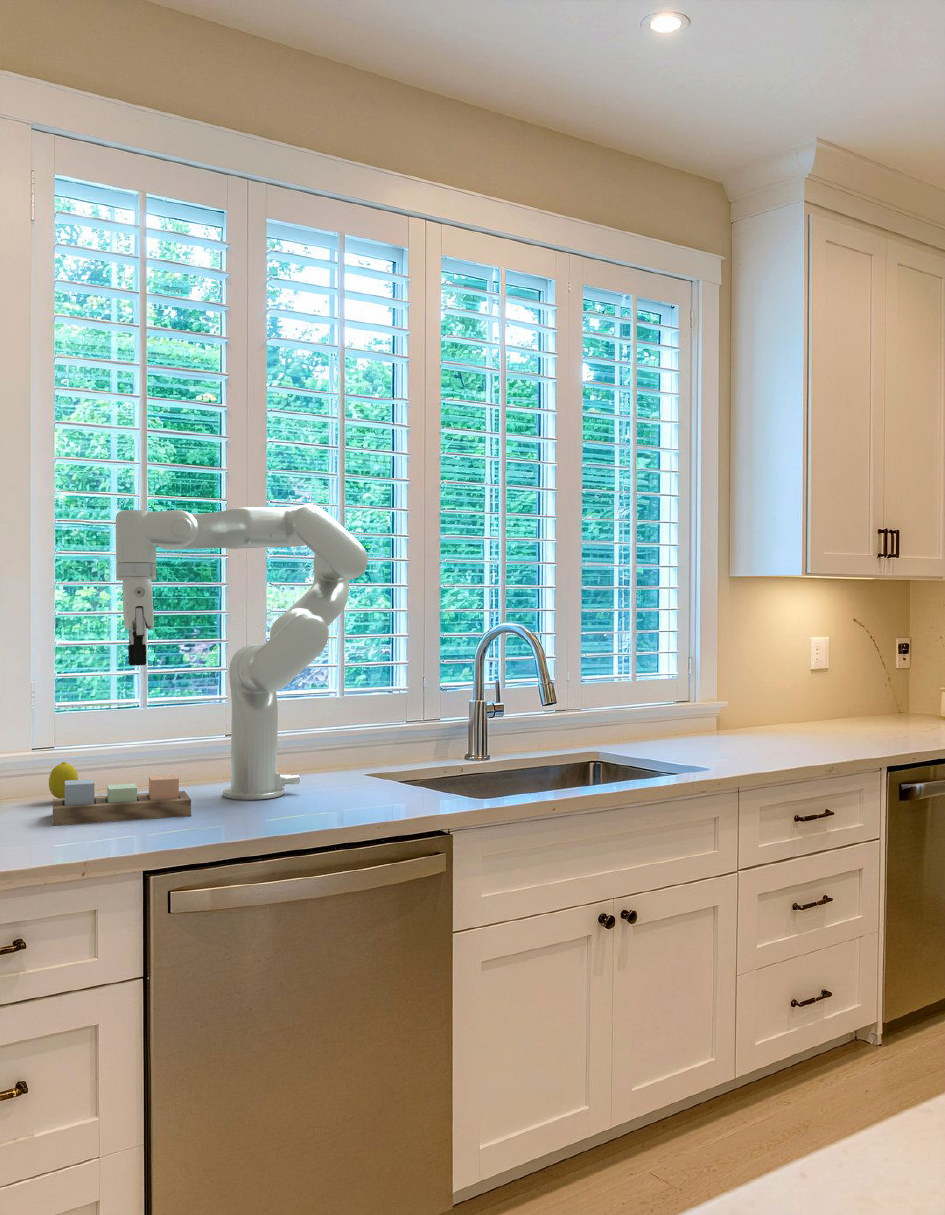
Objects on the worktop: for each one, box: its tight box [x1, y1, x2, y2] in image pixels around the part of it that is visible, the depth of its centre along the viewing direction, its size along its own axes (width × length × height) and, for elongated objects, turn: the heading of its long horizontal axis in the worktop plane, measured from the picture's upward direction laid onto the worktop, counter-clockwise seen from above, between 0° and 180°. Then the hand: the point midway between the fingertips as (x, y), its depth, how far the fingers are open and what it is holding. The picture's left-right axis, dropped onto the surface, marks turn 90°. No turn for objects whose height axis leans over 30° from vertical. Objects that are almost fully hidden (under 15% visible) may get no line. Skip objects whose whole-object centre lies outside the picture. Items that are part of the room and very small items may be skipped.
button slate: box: [65, 778, 95, 806], centre depth 183 cm, size 5×5×5 cm
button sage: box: [106, 783, 138, 803], centre depth 186 cm, size 5×5×5 cm
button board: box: [52, 790, 192, 826], centre depth 186 cm, size 24×10×3 cm, turn 113°
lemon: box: [48, 761, 79, 799], centre depth 198 cm, size 6×6×8 cm
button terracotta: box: [148, 774, 180, 800], centre depth 189 cm, size 5×5×5 cm
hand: (137, 665), depth 195 cm, fingers closed
